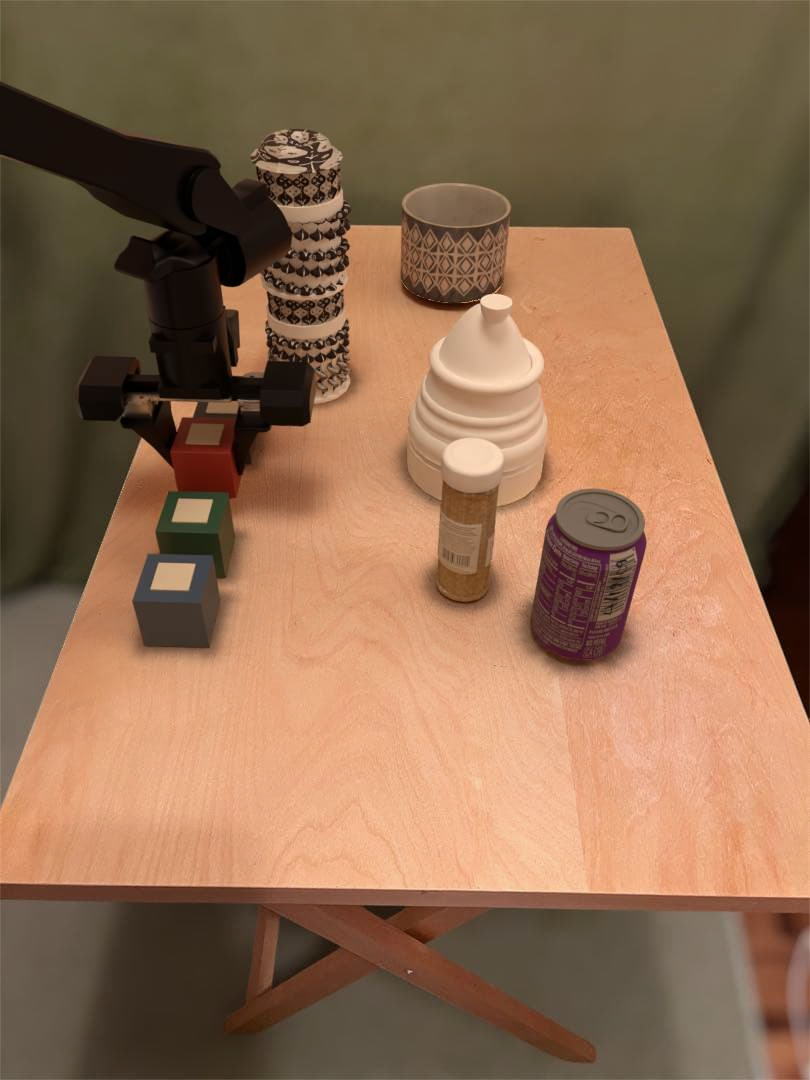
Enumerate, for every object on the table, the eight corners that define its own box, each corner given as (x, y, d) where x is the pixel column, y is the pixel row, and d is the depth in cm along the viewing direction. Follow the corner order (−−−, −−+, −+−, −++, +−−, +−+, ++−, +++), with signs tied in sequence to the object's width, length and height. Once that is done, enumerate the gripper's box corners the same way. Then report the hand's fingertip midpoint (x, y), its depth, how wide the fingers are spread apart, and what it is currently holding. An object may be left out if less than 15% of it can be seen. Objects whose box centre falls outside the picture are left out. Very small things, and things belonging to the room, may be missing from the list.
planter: (390, 268, 116) (390, 186, 109) (484, 259, 119) (491, 179, 111) (414, 317, 107) (417, 231, 100) (516, 306, 110) (526, 222, 102)
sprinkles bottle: (500, 585, 75) (518, 454, 66) (463, 613, 73) (475, 481, 64) (460, 556, 77) (471, 427, 68) (422, 583, 75) (428, 452, 66)
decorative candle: (331, 415, 92) (321, 165, 75) (250, 394, 95) (223, 147, 78) (367, 370, 99) (366, 129, 82) (291, 352, 101) (273, 114, 84)
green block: (225, 578, 75) (218, 531, 72) (164, 576, 75) (154, 530, 72) (235, 536, 79) (228, 491, 75) (177, 535, 79) (167, 489, 75)
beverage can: (627, 611, 73) (658, 497, 65) (612, 677, 68) (644, 562, 60) (540, 589, 75) (560, 475, 67) (519, 652, 70) (538, 536, 62)
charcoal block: (251, 465, 86) (246, 420, 83) (198, 463, 86) (191, 419, 83) (258, 433, 90) (254, 389, 86) (208, 432, 90) (201, 388, 86)
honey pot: (560, 498, 83) (591, 322, 71) (423, 516, 81) (431, 337, 69) (519, 418, 92) (540, 249, 80) (394, 432, 90) (397, 260, 78)
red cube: (236, 499, 79) (229, 452, 76) (178, 497, 79) (169, 450, 76) (244, 463, 83) (239, 417, 79) (189, 462, 83) (181, 415, 79)
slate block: (209, 647, 70) (200, 601, 66) (144, 646, 70) (131, 599, 66) (220, 600, 73) (212, 553, 70) (158, 598, 73) (147, 552, 70)
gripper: (317, 266, 76) (325, 421, 86) (92, 259, 76) (127, 415, 86) (304, 335, 67) (314, 497, 78) (51, 328, 67) (95, 491, 78)
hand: (211, 471), depth 80 cm, fingers closed on red cube, 5 cm apart
